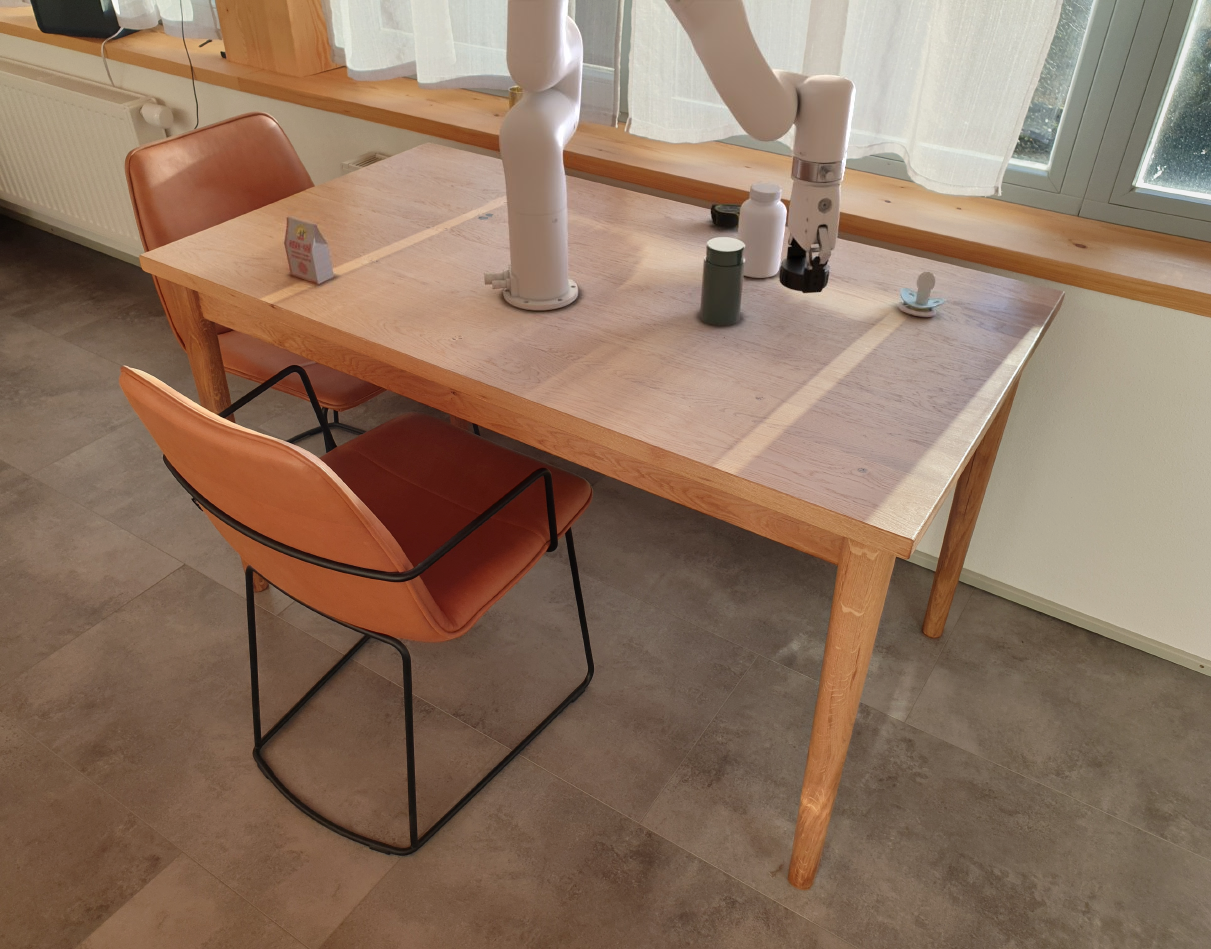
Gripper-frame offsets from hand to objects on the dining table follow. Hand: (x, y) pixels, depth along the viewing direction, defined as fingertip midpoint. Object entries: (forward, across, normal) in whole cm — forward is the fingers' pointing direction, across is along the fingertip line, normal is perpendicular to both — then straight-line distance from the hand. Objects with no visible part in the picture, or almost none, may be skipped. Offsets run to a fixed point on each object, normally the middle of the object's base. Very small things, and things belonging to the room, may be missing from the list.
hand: (803, 280), depth 146 cm
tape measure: (+7, +42, +1) cm, 42 cm away
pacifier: (+7, +1, -21) cm, 22 cm away
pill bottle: (+7, +20, +1) cm, 21 cm away
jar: (+7, +3, +12) cm, 14 cm away
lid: (-2, 0, 0) cm, 2 cm away
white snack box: (+7, +28, +79) cm, 84 cm away
